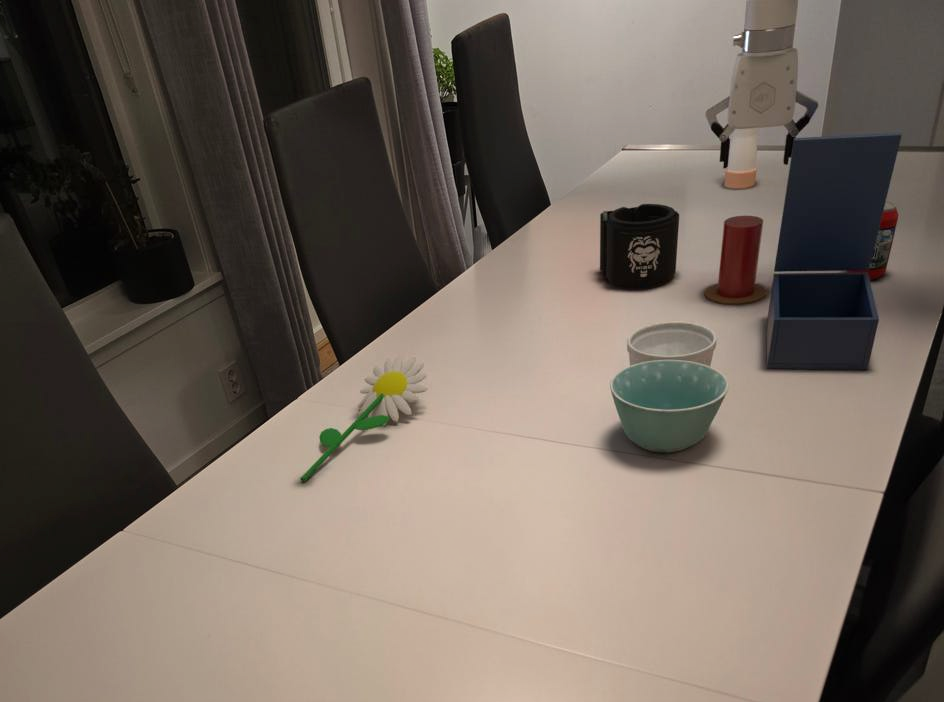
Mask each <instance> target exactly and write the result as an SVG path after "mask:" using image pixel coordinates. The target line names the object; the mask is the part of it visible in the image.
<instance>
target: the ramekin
mask: <svg viewBox="0 0 944 702" xmlns="http://www.w3.org/2000/svg"><path fill="white" fill-rule="evenodd" d="M626 341H627V342H626V343H627V344H626V350H627V353H628V359H629V366H631V365H635V364H638V363H642V362H647V361H655V360H683V361H690V362H696V363H700V364H703V365H707V366H709V367H711V365H712V359H713V356H714V351H716V350H715V349H716V348H717V334H716V333H715V332H714V331H713V330H712V329H711V328H709V327H707V326H705V325H702V324H700V323H695V322H688V321H678V320H677V321H674V320H673V321H662V322H655V323H651V324H648V325H647V324H646V325H644V326H641V327H639V328H637V329H636V330H634V331H633V332H631V334H630V335H629V336H628V338H627V340H626Z"/></svg>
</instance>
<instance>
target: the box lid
mask: <svg viewBox="0 0 944 702" xmlns="http://www.w3.org/2000/svg"><path fill="white" fill-rule="evenodd" d="M902 136H903V133H902V132H889V133H888V132H887V133H867V134H866V133H865V134H848V135H847V134H846V135H845V134H844V135H828V136H827V135H826V136H810V137H809V136H807V137H796V138H794V142H793V149H792V156H791V158H790V163H789V168H788V176H787V183H786V189H785V195H784V203H783V209H782V216H781V224H780V228H779V236H778V242H777V249H776V253H775V254H776V255H775V261H774V267H773V268H774V269H773V271H774V272H776V273H777V272H780V273H782V272H784V273H786V272H847V271H868V270H869V268H870V263H871V259H872V255H873V251H874V247H875V243H876V239H877V235H878V231H879V227H880V223H881V218H882V214H883V210H884V206H885V202H886V201H887V197H888V193H889V189H890V186H891V182H892V177H893V173H894V169H895V165H896V160H897V157H898V152H899V148H900V144H901V140H902Z"/></svg>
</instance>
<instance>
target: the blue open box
mask: <svg viewBox="0 0 944 702" xmlns="http://www.w3.org/2000/svg"><path fill="white" fill-rule="evenodd" d="M771 282H772V284H771V290H770V297H769V305H768V311H767V317H766V369H788V370H849V371H850V370H851V371H852V370H853V371H867V370H869V365H870V361H871V355H872V351H873V348H874V343H875V339H876V334H877V330H878V327H879V321H880V318H879V314H878V309H877V305H876V300H875V296H874V291H873V287H872V284H871V280H870V279H869V275H868V272H863V273H848V272H795V273H794V272H793V273H791V272H789V273H786V272H784V273H782V272H780V273H773V276H772V281H771Z"/></svg>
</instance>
